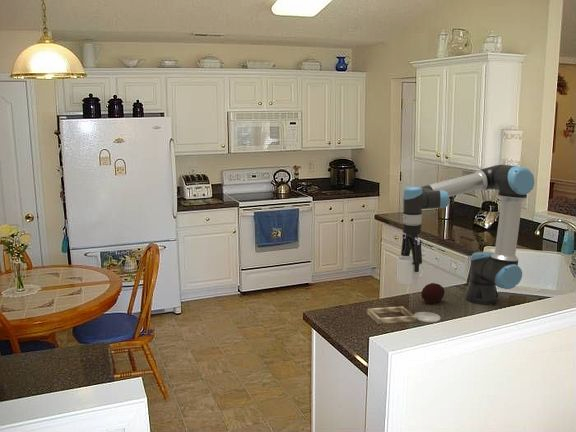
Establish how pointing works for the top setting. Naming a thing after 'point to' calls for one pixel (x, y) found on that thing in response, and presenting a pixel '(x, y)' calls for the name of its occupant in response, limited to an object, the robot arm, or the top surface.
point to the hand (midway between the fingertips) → (410, 275)
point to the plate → (427, 317)
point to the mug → (406, 270)
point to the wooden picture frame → (407, 318)
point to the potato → (432, 292)
